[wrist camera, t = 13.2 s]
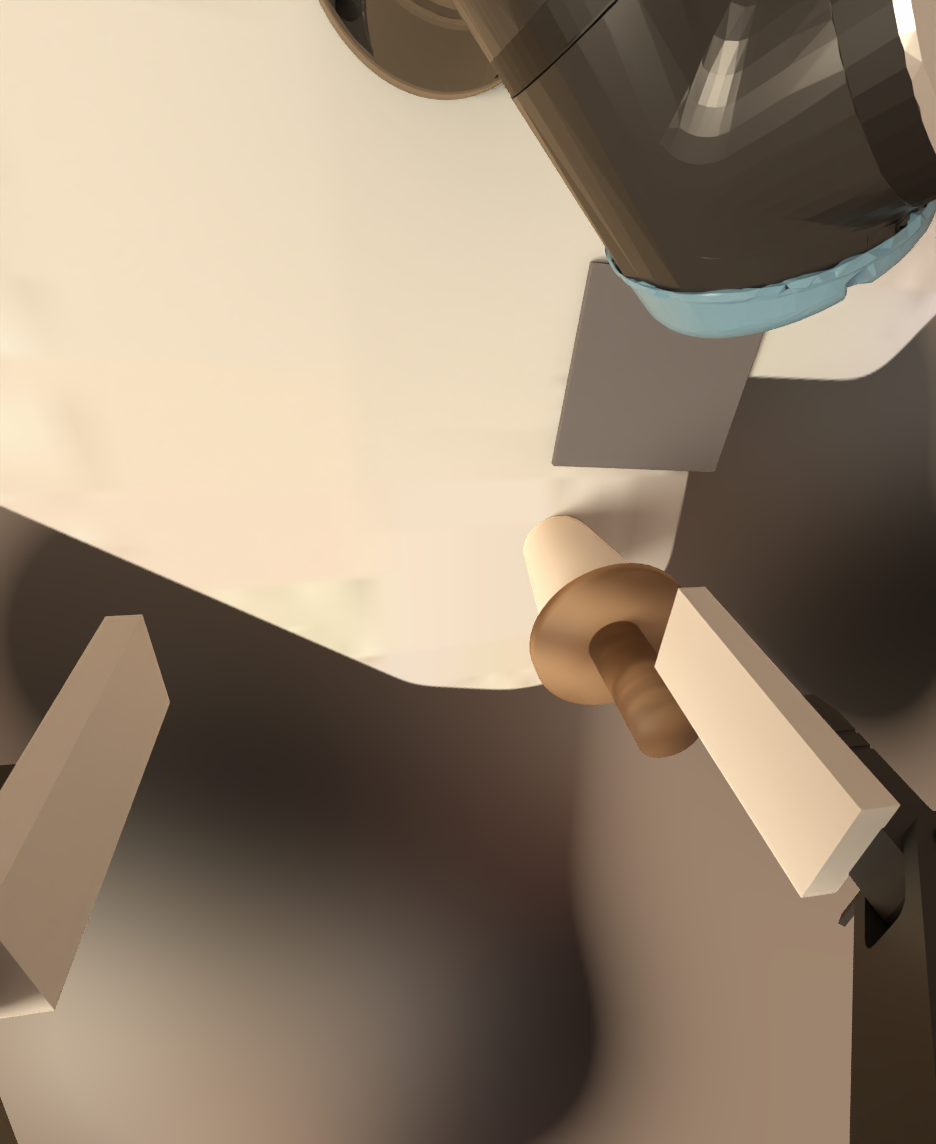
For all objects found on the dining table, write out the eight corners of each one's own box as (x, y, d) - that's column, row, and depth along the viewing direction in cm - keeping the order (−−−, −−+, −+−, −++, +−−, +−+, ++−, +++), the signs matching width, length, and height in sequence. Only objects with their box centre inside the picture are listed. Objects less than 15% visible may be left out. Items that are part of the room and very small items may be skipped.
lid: (545, 562, 38) (598, 659, 30) (709, 563, 40) (799, 653, 32) (517, 696, 44) (555, 807, 36) (660, 690, 46) (726, 792, 38)
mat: (590, 261, 40) (593, 262, 40) (775, 283, 43) (780, 284, 43) (551, 463, 48) (553, 465, 48) (710, 469, 51) (714, 472, 51)
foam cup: (610, 494, 51) (680, 572, 40) (601, 581, 56) (661, 670, 45) (506, 506, 50) (549, 589, 39) (506, 593, 55) (544, 688, 44)
